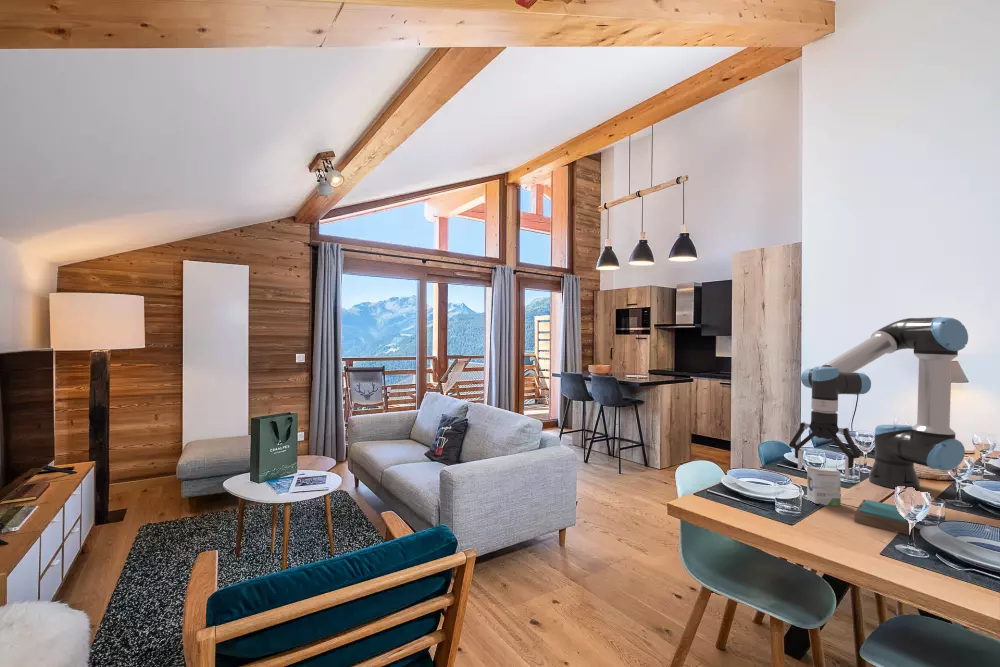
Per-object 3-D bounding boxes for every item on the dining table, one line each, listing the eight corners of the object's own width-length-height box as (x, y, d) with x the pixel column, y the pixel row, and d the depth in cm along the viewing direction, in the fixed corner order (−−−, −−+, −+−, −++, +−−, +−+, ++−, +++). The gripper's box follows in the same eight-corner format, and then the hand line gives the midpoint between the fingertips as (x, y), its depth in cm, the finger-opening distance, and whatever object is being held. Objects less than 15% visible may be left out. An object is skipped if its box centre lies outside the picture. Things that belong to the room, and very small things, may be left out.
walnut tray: (863, 508, 155) (863, 497, 155) (915, 520, 146) (915, 508, 146) (854, 521, 144) (854, 510, 144) (909, 535, 135) (910, 523, 135)
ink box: (814, 505, 158) (815, 470, 158) (806, 499, 163) (806, 466, 163) (841, 506, 157) (841, 471, 157) (832, 500, 162) (832, 467, 162)
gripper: (780, 407, 166) (779, 466, 166) (868, 418, 148) (866, 483, 148) (786, 405, 171) (785, 462, 171) (871, 415, 153) (870, 479, 153)
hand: (822, 472), depth 160 cm, fingers open, 13 cm apart
